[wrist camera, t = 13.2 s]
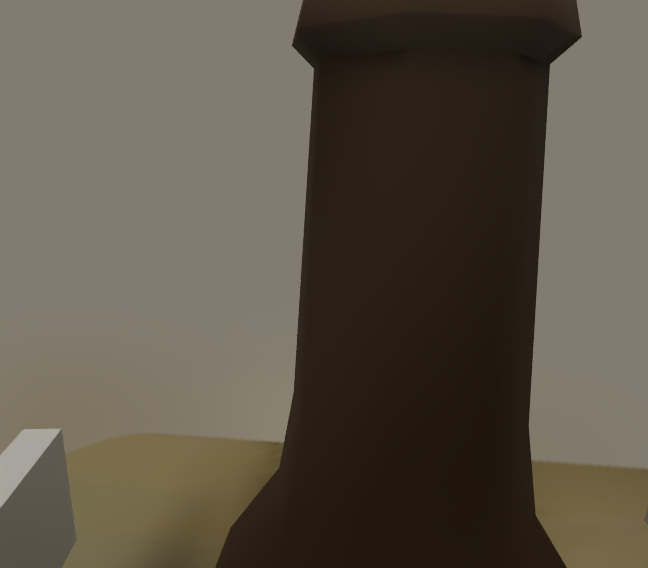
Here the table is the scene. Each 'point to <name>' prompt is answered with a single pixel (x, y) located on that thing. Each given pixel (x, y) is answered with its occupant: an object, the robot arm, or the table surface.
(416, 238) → the beer bottle
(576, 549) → the table surface
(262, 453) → the table surface
